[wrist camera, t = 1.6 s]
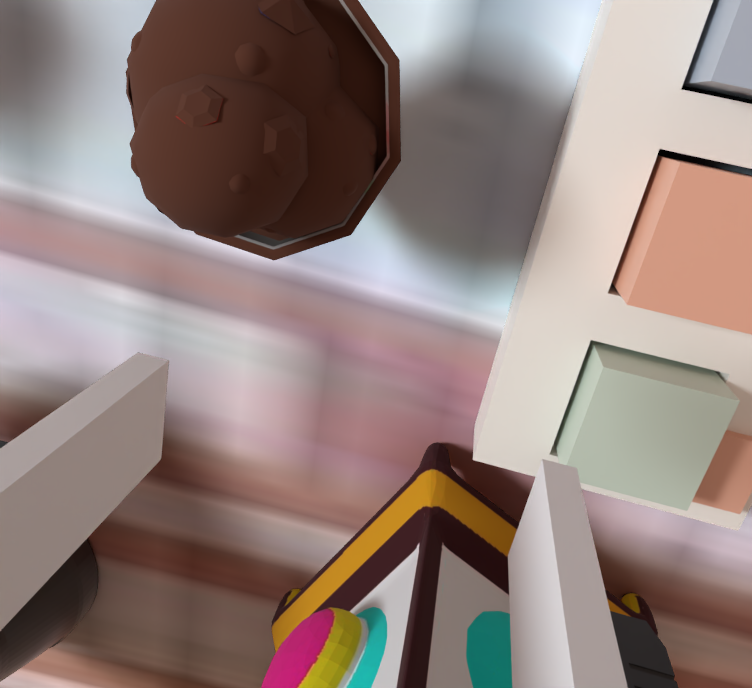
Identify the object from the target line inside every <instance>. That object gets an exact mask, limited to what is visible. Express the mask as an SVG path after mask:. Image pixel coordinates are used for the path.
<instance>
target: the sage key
mask: <svg viewBox="0 0 752 688" xmlns="http://www.w3.org/2000/svg"><path fill="white" fill-rule="evenodd" d="M739 402H740V400H739V399H738V398H737V397H736V396H735V395H734V393H733V392H732V391H731V390H730V389H729V387H728V386H727V385H726V384H725V383H724V381H723V380H722V379H721V378H720V377H719V375H718V374H717V373H716V372H715V371H714V370H711V369H707V368H703V367H699V366H695V365H690V364H686V363H682V362H678V361H674V360H670V359H666V358H662V357H658V356H654V355H650V354H646V353H642V352H638V351H634V350H630V349H626V348H621V347H617V346H613V345H609V344H605V343H601V342H597V341H593V340H591V341H590V344H589V346H588V349H587V352H586V355H585V358H584V360H583V363H582V366H581V369H580V371H579V374H578V377H577V380H576V383H575V385H574V388H573V391H572V394H571V396H570V399H569V402H568V405H567V407H566V410H565V413H564V416H563V419H562V421H561V424H560V427H559V430H558V432H557V435H556V438H555V443H556V449H557V454H558V460H559V463H560V464H564V465H567V466H571V467H575V468H577V471H578V476H579V480H580V483H584V484H588V485H591V486H595V487H599V488H603V489H606V490H610V491H614V492H618V493H621V494H625V495H629V496H633V497H636V498H640V499H644V500H648V501H651V502H655V503H659V504H663V505H666V506H670V507H674V508H678V509H681V510H685V511H687V510H688V508H689V506H690V504H691V502H692V500H693V498H694V496H695V494H696V492H697V490H698V488H699V486H700V483H701V481H702V479H703V477H704V475H705V473H706V471H707V469H708V467H709V465H710V463H711V461H712V458H713V456H714V454H715V452H716V450H717V448H718V446H719V444H720V442H721V440H722V438H723V436H724V433H725V431H726V429H727V427H728V425H729V423H730V421H731V419H732V417H733V415H734V413H735V411H736V409H737V406H738V404H739Z"/></svg>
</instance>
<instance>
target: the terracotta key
mask: <svg viewBox="0 0 752 688" xmlns="http://www.w3.org/2000/svg"><path fill="white" fill-rule="evenodd" d="M612 283H613V285H614V286H615V288H616V289H617V291H618V292H619V294H620V295H621V297H622V298H623V300H624V301H625V303H626V304H627V305H630V306H635V307H639V308H643V309H647V310H651V311H655V312H659V313H664V314H668V315H672V316H676V317H680V318H684V319H689V320H693V321H697V322H701V323H705V324H709V325H714V326H718V327H722V328H726V329H730V330H734V331H739V332H743V333H747V334H751V335H752V176H751V175H746V174H742V173H737V172H732V171H728V170H723V169H719V168H714V167H710V166H705V165H700V164H696V163H691V162H687V161H682V160H678V159H673V158H668V157H664V156H659V155H657V158H656V161H655V163H654V166H653V169H652V172H651V174H650V177H649V180H648V183H647V186H646V188H645V191H644V194H643V197H642V199H641V202H640V205H639V208H638V211H637V213H636V216H635V219H634V222H633V224H632V227H631V230H630V233H629V236H628V238H627V241H626V244H625V247H624V249H623V252H622V255H621V258H620V260H619V263H618V266H617V269H616V272H615V274H614V277H613V280H612Z"/></svg>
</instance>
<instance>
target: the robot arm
mask: <svg viewBox="0 0 752 688" xmlns="http://www.w3.org/2000/svg"><path fill="white" fill-rule="evenodd" d="M168 366H169V360H165V359H162V358H158V357H154V356H150V355H146V354H143V353H139V352H138V353H137V354H135V355H134V356H132V357H131V358H129V359H128V360H127V361H125V362H124V363H122V364H121V365H119V366H118V367H116V368H115V369H114V370H112V371H111V372H109V373H108V374H106V375H105V376H104V377H102V378H101V379H99V380H98V381H96V382H95V383H94V384H92V385H91V386H89V387H88V388H86V389H85V390H83V391H82V392H81V393H79V394H78V395H76V396H75V397H73V398H72V399H71V400H69V401H68V402H66V403H65V404H63V405H62V406H61V407H59V408H58V409H56V410H55V411H53V412H52V413H51V414H49V415H48V416H46V417H45V418H43V419H42V420H40V421H39V422H38V423H36V424H35V425H33V426H32V427H30V428H29V429H28V430H26V431H25V432H23V433H22V434H20V435H19V436H18V437H16V438H15V439H13V440H12V441H10V442H9V443H7V442H4V441H0V681H2V680H3V679H5V678H6V677H8V676H9V675H11V674H12V673H14V672H15V671H17V670H18V669H20V668H22V667H23V666H24V665H26V664H27V663H29V662H30V661H32V660H33V659H35V658H36V657H37V656H39V655H40V654H42V653H43V652H44V651H46V650H47V649H48V648H51V647H53V646H54V645H56V644H58V643H59V642H60V641H62V640H63V639H64V638H65V637H66V636H67V635H68V634H69V633H70V632H71V631H72V630H73V629H74V628H75V626H76V625H77V624H78V623H79V621H80V620H81V619H82V618H83V616H84V615H85V614H86V613H87V611H88V610H89V609H90V607H91V605H92V603H93V601H94V599H95V596H96V592H97V586H98V573H97V566H96V562H95V558H94V555H93V552H92V550H91V547H90V545H89V543H88V541H87V538H88V537H89V536H90V535H91V534H92V533H93V532H94V530H95V529H96V528H97V527H98V526H99V525H100V524H101V523H102V522H103V521H104V520H105V519H106V518H107V517H108V515H109V514H110V513H111V512H112V511H113V510H114V509H115V508H116V507H117V506H118V505H119V504H120V503H121V502H122V501H123V499H124V498H125V497H126V496H127V495H128V494H129V493H130V492H131V491H132V490H133V489H134V488H135V487H136V486H137V485H138V483H139V482H140V481H141V480H142V479H143V478H144V477H145V476H146V475H147V474H148V473H149V472H150V471H151V470H152V469H153V467H154V466H155V465H156V464H157V463H158V462H159V461H160V460H161V456H162V444H163V431H164V418H165V405H166V392H167V379H168ZM508 573H509V603H510V633H511V662H512V688H678V685H677V682H676V681H674V676H675V675H674V672H673V669H672V666H671V663H670V660H669V657H668V654H667V650H666V648H665V646H664V645H663V644H662V642H661V641H660V639H659V638H658V637H657V635H656V634H655V632H654V631H653V630H652V628H651V627H650V626H649V624H648V623H647V621H645V620H641V619H637V618H634V617H630V616H627V615H623V614H620V613H616V612H613V611H610V609H609V605H608V601H607V596H606V592H605V588H604V583H603V579H602V575H601V570H600V566H599V562H598V558H597V553H596V549H595V545H594V540H593V536H592V532H591V527H590V523H589V519H588V514H587V510H586V506H585V501H584V497H583V493H582V489H581V484H580V480H579V476H578V471H577V468H575V467H571V466H567V465H564V464H560V463H556V462H552V461H548V460H545V459H542V461H541V464H540V467H539V469H538V472H537V475H536V478H535V481H534V484H533V486H532V489H531V492H530V495H529V498H528V500H527V503H526V506H525V509H524V512H523V515H522V517H521V520H520V523H519V526H518V529H517V531H516V534H515V537H514V540H513V543H512V545H511V548H510V551H509V554H508Z"/></svg>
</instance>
